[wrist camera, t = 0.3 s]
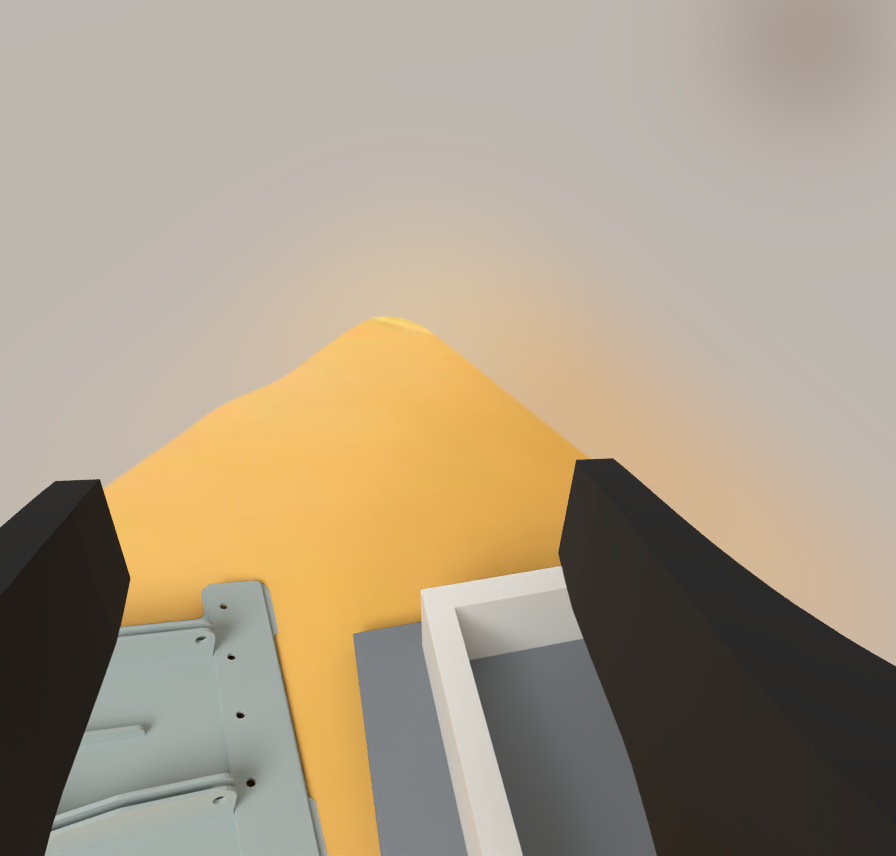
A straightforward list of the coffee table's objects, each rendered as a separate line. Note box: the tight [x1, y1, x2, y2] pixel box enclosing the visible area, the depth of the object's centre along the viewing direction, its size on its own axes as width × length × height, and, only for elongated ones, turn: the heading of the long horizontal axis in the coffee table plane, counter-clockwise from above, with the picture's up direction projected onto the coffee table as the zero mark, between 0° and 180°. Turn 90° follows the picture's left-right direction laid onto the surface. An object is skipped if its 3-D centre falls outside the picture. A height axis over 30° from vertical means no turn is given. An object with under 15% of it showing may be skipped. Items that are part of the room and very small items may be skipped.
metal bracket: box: [45, 581, 327, 856], centre depth 28 cm, size 14×6×15 cm
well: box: [353, 566, 657, 856], centre depth 25 cm, size 19×15×5 cm
